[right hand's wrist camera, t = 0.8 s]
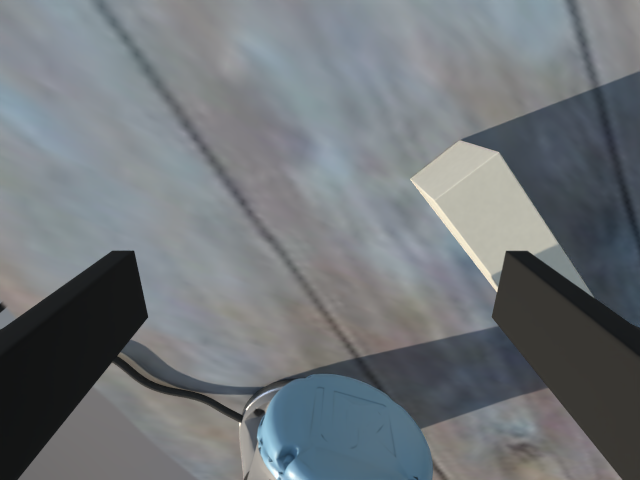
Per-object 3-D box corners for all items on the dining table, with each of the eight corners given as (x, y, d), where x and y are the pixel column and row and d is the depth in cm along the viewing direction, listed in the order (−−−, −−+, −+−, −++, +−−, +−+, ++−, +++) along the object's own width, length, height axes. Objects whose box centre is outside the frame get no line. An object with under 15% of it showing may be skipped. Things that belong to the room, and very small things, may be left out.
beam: (409, 178, 34) (433, 200, 27) (459, 139, 32) (499, 151, 25) (631, 466, 49) (684, 530, 42) (671, 448, 48) (734, 511, 40)
